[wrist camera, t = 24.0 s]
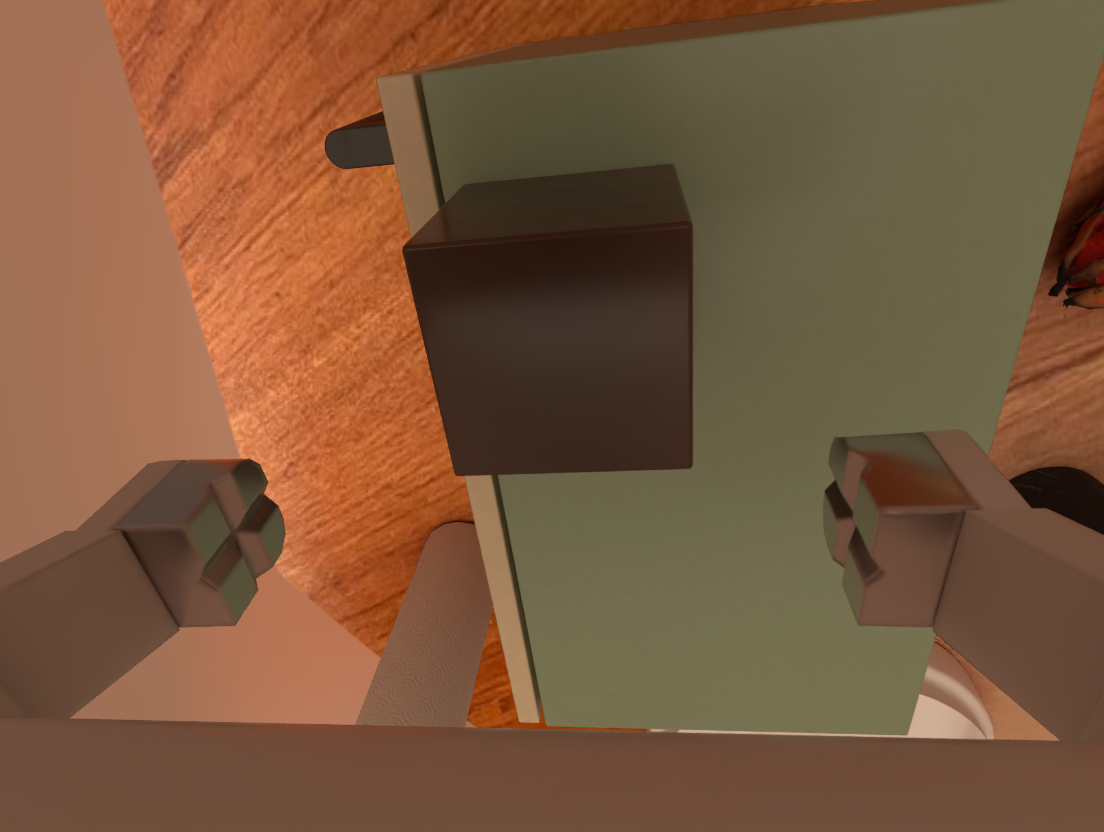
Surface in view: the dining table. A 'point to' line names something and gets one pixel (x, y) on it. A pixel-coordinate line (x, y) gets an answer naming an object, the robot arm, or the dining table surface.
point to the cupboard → (781, 325)
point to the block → (560, 322)
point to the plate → (929, 706)
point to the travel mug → (1065, 494)
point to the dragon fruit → (1084, 262)
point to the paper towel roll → (435, 637)
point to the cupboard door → (411, 149)
